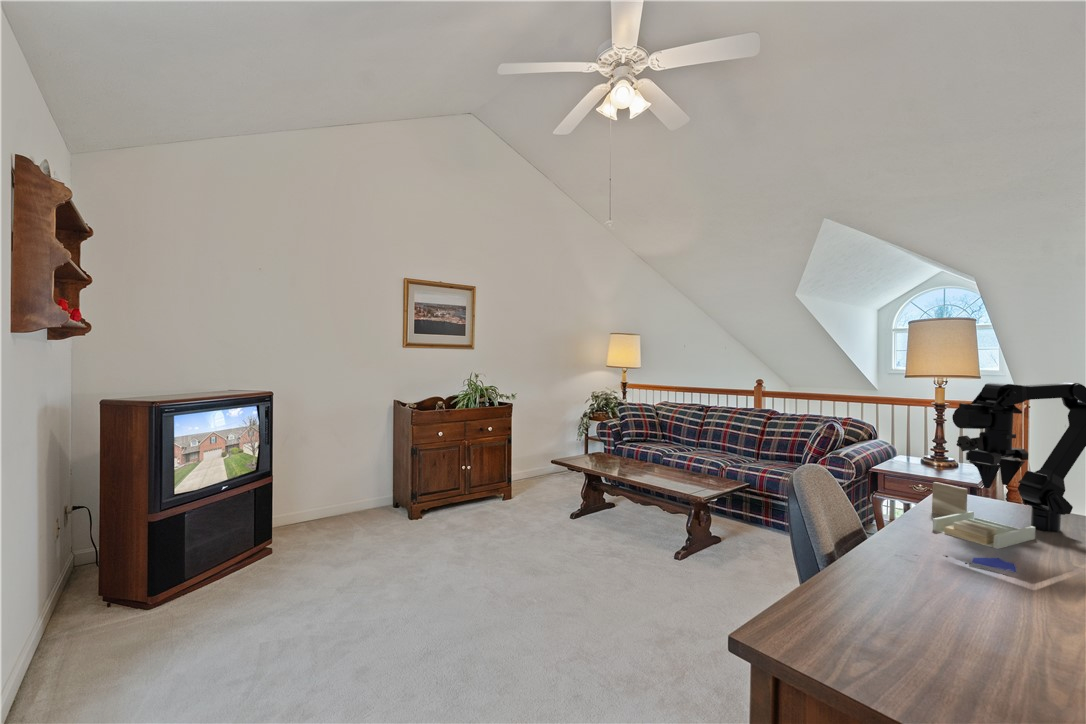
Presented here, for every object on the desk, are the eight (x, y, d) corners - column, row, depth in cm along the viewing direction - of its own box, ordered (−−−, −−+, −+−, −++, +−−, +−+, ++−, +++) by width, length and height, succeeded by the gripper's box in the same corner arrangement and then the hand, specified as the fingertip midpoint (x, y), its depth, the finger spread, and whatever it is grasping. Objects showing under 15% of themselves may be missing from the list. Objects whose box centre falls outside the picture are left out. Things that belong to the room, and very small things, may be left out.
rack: (969, 525, 142) (970, 510, 142) (1034, 542, 130) (1035, 527, 130) (932, 533, 135) (933, 518, 135) (997, 552, 122) (998, 536, 122)
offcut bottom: (957, 529, 135) (957, 524, 135) (999, 541, 127) (999, 535, 127) (944, 532, 133) (944, 526, 133) (986, 544, 124) (986, 538, 124)
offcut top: (964, 525, 134) (964, 520, 134) (996, 534, 127) (997, 528, 127) (953, 528, 132) (953, 522, 132) (986, 537, 125) (986, 531, 125)
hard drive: (1019, 573, 108) (1018, 557, 117) (969, 562, 114) (971, 547, 123) (1018, 580, 108) (1017, 563, 117) (968, 569, 114) (971, 553, 123)
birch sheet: (934, 515, 151) (935, 482, 150) (966, 524, 143) (967, 488, 143) (931, 516, 150) (932, 482, 150) (963, 524, 143) (964, 489, 143)
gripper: (981, 423, 149) (979, 476, 149) (944, 426, 141) (942, 482, 142) (1030, 429, 139) (1028, 486, 139) (993, 432, 131) (991, 492, 131)
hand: (996, 486), depth 138 cm, fingers open, 9 cm apart
